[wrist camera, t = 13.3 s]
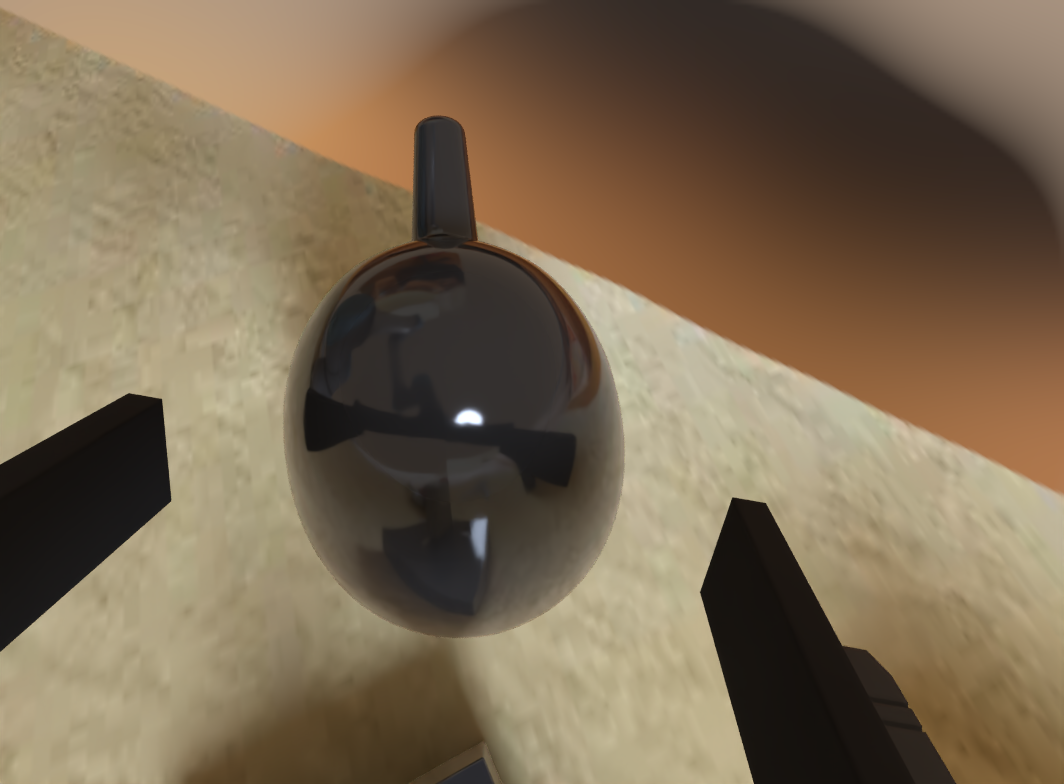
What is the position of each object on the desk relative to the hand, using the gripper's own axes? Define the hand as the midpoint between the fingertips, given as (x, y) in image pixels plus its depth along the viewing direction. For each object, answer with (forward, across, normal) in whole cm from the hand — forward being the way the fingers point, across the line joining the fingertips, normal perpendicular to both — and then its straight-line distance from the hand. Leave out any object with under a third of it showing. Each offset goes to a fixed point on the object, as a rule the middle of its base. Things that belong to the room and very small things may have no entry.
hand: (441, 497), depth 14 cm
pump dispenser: (+9, 0, +6) cm, 10 cm away
